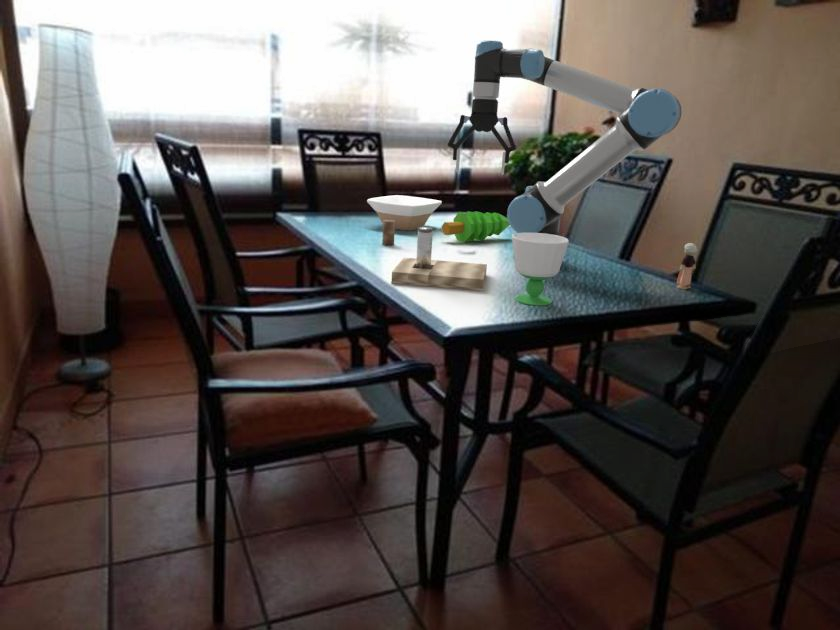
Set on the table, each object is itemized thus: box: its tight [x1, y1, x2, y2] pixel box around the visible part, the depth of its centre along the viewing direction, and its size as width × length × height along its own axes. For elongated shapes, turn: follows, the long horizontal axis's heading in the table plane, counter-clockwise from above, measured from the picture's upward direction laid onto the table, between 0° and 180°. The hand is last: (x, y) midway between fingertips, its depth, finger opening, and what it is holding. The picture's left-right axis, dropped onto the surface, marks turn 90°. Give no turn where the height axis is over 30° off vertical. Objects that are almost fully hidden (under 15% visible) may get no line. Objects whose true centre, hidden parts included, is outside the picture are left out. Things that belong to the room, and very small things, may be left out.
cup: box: [511, 232, 570, 307], centre depth 156 cm, size 14×14×16 cm
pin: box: [416, 226, 434, 269], centre depth 173 cm, size 4×4×13 cm
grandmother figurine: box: [676, 242, 698, 290], centre depth 176 cm, size 8×4×13 cm, turn 141°
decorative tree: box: [441, 210, 510, 243], centre depth 230 cm, size 11×12×30 cm
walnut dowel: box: [382, 220, 396, 246], centre depth 215 cm, size 4×4×8 cm
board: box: [390, 257, 488, 292], centre depth 174 cm, size 24×18×3 cm
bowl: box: [366, 194, 443, 231], centre depth 249 cm, size 24×25×11 cm
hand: (479, 173), depth 191 cm, fingers open, 13 cm apart
